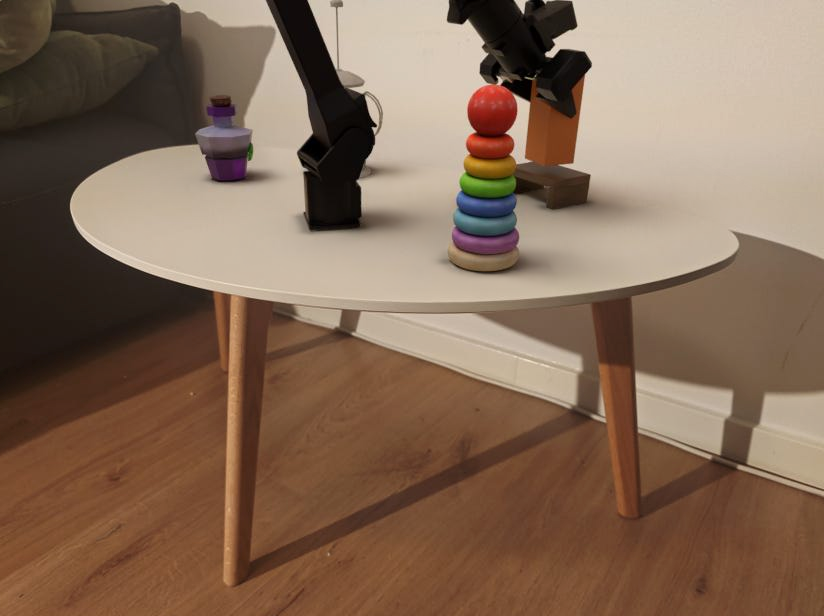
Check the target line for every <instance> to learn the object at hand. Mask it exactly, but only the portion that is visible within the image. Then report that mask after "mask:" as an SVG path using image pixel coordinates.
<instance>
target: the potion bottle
mask: <svg viewBox="0 0 824 616" xmlns="http://www.w3.org/2000/svg"><path fill="white" fill-rule="evenodd" d="M209 101H210V103H209V104H207V105H206V107H205V108H206V114H207V116H210V117H212V123H213V125H210V126H206V127H202V128H199V129H198V130H197V131H196V132H195V133H194V135H195V138H196V141H197V144H198V146H199V150H200V152H201V155H202V156H204V159H205V163H206V165H207V168H208V171H209V174H210V177H211V179H210V180H212V181H215V182H218V183H236V182H239V181H240V182H241V181H244V180H246V179H247V177H248V175H247V169H248V162H251V161H252V159H253V157H254V144H253V143H252V140H253V139H252V138H253V131H254V130H253V129H250V128H248V127H243V126H239V125H236V124H234V118H233V117H235V116H237V114H238V108H237V107H238V106H237V104H235V103H232V96H231V95H227V94H215V95H213V96H209Z"/></svg>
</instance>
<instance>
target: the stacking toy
mask: <svg viewBox="0 0 824 616" xmlns="http://www.w3.org/2000/svg"><path fill="white" fill-rule="evenodd" d="M500 85H501V84H496V85H493V84H486V85H483V86H481V87H479V88H478V89H477V90H475V91H474V93H472V95H471V97H470V99H469V100H468V103H467V107H466V109H467V110H466V114H467V119H468V122H469V125H470V126H471V128H472V129H473V130H474V131H475V132H473V133H471V134H469V135H468V137H467V138H466V141H465V148H466V150H467V152H468V153H469V154H467V155H466V156H465V158H464V160H463V169H464V172H462V174H461V176H460V178H459V187H460V189H461V190H460V191H459V192H458V193H457V195H456V199H455V201H456V206H457V208H456V209H455V211H454V212H453V216H452V220H453V224H454V227H453V228H452V231H451V240H452V242H451V243H450V244H449V246H448V248H447V256H448V259H449V260H450V261H451V262H452V263H453V264H454V265H456V266H457V267H459V268H462V269H466V270H470V271H476V272H497V271H502V270H506V269H509V268H511V267H513V266H514V265H515V264H516V263H517V262H518V260H519V257H520V250H519V247H518V245H519V241H520V232H519V230H518V229H517V228H516V226H517V223H518V216H517V214H516V212H515V209H516V208H517V204H518V199H517V197H516V195H515V193H513V191H514V190H515V187H516V179H515V177H514V176H513V175H512V174H513V173H514V171H515V169H516V164H517V161H516V159H515V157H513V156H512V155H511V154H512V152H513V151H514V150H515V140H514V138H513V137H512V136H511V135H510V134H508V133H507V132H509V131H510V129H512V127H513V125H514V124H515V122H516V120H517V117H518V102H517V99H516V98H515V95H514V94H512V93H511V92H510V91H509V90H508V89H507V88H505V87H503V86H500Z"/></svg>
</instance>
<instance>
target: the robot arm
mask: <svg viewBox="0 0 824 616" xmlns="http://www.w3.org/2000/svg"><path fill="white" fill-rule="evenodd" d="M265 2H266V5H267V7H268V9H269V11H270V14H271V15H272V19H273V20H274V23H275V25H276V27H277V29H278V32H279V34H280V37H281V38H282V41H283V43H284V45H285V48H286V51H287V53H288V55H289V57H290V59H291V61H292V64H293V67H294V69H295V71H296V73H297V75H298V77H299V79H300V82H301V84H302V86H303V88H304V89H303V90H304V91H305V96H306V105H307V115H308V120H309V123H310V127H311V131H312V133H311V134H310V136H309V137H308V138H307V139H306V140H305V142H304V143H303V144H302V145H301V146H300V148H298V150H297V151H296V156H297V158H298V160H299V163H300V165H301V167H302V168H303V169H305V170H304V171H303V172H302V174H303V175H302V176H303V192H304V193H303V194H304V211H303V212H302V214H303V218H304V220H305V223H306V225H307V227H308V230H310V231H311V230H312V231H313V230H316V231H317V230H330V229H348V228H349V229H350V228H360V227H361V221H360V220H361V219H362V215H363V213H362V212H363V211H362V186H361V185H360V184H359V183H358V180H360V178H359V177H360V174H361V171H362V168H363V165H364V162H365V160H366V161H367V159H368V158H369V157H370V156H371V154H372V152H373V149H374V147H375V145H376V136H375V131H374V129H375V128H378V124H377V123H376V122H375V121H374V120H373V118H372V116H371V114H370V110H369V107H368V102H367V99H366V96H364V94H363V92H362V93H361V92H359V91H357V90H354V89H353V88H345V87H344V86H343V85H342V83H341V81H340V79H339V77H338V74H337V72H336V69H337V68H336V67H335V64H334V62H333V59H332V56H331V54H330V52H329V49H328V47H327V45H326V42H325V39H324V37H323V35H322V31H321V30H320V27H319V25H318V22H317V19H316V17H315V15H314V12H313V10H312V8H311V5H310V3H309V0H265ZM523 10H524V11H522V10H521V8H520V6H519V5H518V3H517V2H516V0H448V10H447V14H446V15H447V16H446V22H447V23H448V24H452V25H453V24H454V25H461V26H462V25H464V24H465V23H466V22H467V21H468V22H469V23H470V25H471V26H472V28H473V29H474V30H475V32H476V33H477V35H478V36H479V37H480V38H481V40H482V41H483V42H484V43H483V44H482V46H481V49H482V50H483V52H484V53H485V54H486V56H485V57H484V58H483V59H482V61H481V62H480V63H479V75H480V76H481V78H482V79H483V81H484V82H485V83H486V84H488V85H498V83H499V78H500V80H501V81H502V82H501V83H500V84H499V85H500V86H503V87H505V88H507V89H508V90H509V91H510V92H511V93H512V94H513V95H514V96H516V97H518V98H520V99H521V100H524V101H525V102H528V103H530V99H531V89H532V80H535V79H536V88H537V90H538V91H539V93H538V94H537V95H536V96H535V97H536V98H537V99H539V100H540V101H542V102H544V103H545V104H547V105H549V106H550V107H552V108H554V109H555V110H557V111H559V112H560V113H562V114H563V115H565V116H567V117H569V118H571V119H572V118H573V117H574V116H575V115H576V113H577V111H576V107H575V102H574V97H573V93H572V89H573V88H574V87H575V86H576V84H577V83H578V82H579V81H580V80H581V79H582V77H583V76H584V75H585V76H586V74H587V73H588V72H589V71H590V69H592V67H593V62H592V61H591V59H590V58H589V56H588V54H587V53H586V51H584V50H577V49H572V48H560V49H559V50H557V52H556V53H555V55H554V56H553V57H552V56H547V53H550V52H551V51H552V50H553V49H554V48H555V46H556V43H555V41H554V40H555V39H557V38H559V37H561V36H562V35H564V34H566V33H568V32H570V31H574V30H575V29H577V28H578V22H577V16H576V13H575V12H576V11H575V7H574V2H573V1H572V0H546V2H545V1H544V0H527V1H525V2H524V9H523Z"/></svg>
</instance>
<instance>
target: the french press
mask: <svg viewBox="0 0 824 616" xmlns="http://www.w3.org/2000/svg"><path fill="white" fill-rule="evenodd" d="M329 6H330V8H335V24H336V25H335V26H336V59H337V60H336V61H337V68H335V69H336V72H337V74H338V77H339V79H340V81H341V83H342V85H343V86H344V87H345V88H349V89H353V88H361V87H363V86H364V85H365V83H366V81H365V79H363V78H362V77H361V76H359V75H358V74H355V73H354V72H351V71H349V70H343V69H341V68H340V57H339V56H340V54H339V20H338V19H339V16H338V15H339V13H338V9H339V8H343V7H344V2H343V0H330V1H329ZM362 94H364V96H365V97H368V98H370V99H371V100H372V102H373V103H374V104H375V106H376V108H377V111H378V125H377V129H376V131H375V132H374V135H375V137H376V136H377V135H378V134H379V133H380V130H381V129H382V127H383V126H382V125H383V117H384V111H383V107H382V104H381V103H380V101H379V99H378V98H377V97H376V96H375V95H374V94H373V93H371V92H369V91H368V90H367V91H364V92H362ZM371 174H372V170H371V169H370V167H368V166H367V159H366V160H365V162H364V165H363V168H362V171H361V174H360V177H359V179H361V178H365V177H367V176H369V175H371Z"/></svg>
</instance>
